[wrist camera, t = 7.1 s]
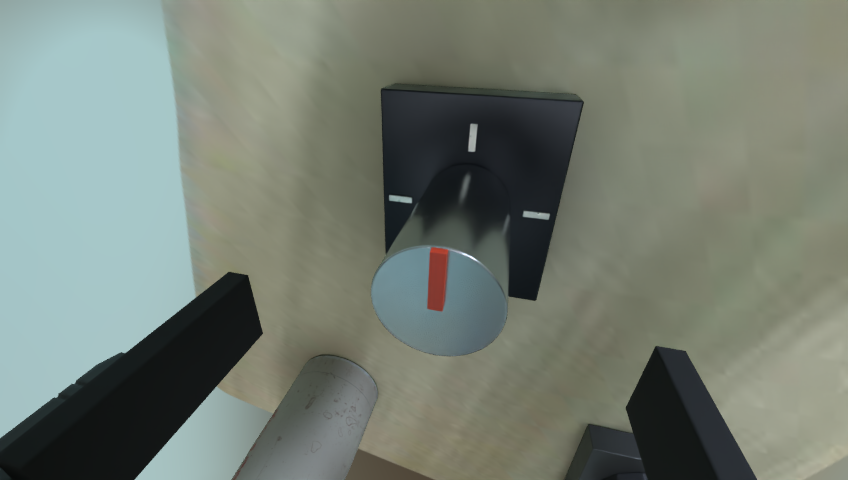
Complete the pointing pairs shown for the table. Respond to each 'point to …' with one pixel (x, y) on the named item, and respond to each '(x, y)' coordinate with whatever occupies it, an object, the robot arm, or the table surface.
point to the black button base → (606, 456)
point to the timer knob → (449, 266)
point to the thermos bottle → (314, 425)
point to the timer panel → (482, 158)
